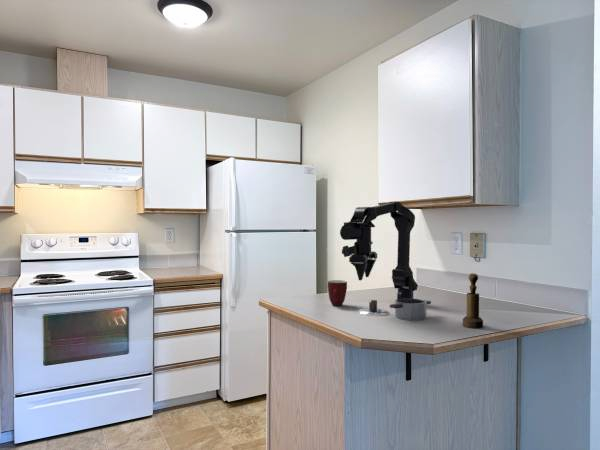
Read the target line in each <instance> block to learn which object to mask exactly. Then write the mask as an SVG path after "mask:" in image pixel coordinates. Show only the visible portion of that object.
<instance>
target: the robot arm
mask: <svg viewBox="0 0 600 450" xmlns="http://www.w3.org/2000/svg"><path fill="white" fill-rule="evenodd" d="M386 214H390V215H389V216H390V217H391V218H392V219H393V222H394V226H395V229H396V230H397V259H396V260H397V262H396V263H397V264H396V266H395V267H394V268H393V269H392V270H391V273H392V274H391V279H392V283H393V287H394V289H397V293H396V298H397V299H402V298H412V299H414V292H416V291H418V288H419V287H418V286H419V285H418V283H417V282H416V280H415V279H414V273H413V270H412V267H410V247H411V231H412V230H413V228H414V227H415V223H416V216H415V214H414V213H413V211H412V210H411V209H410V208H408V207H406V206H405V205H403V204H402V203H401V202H399V201H389V202H386V203H383V204H379V205H375V206H360V207H359V206H357V207H355V209H354V212H353V214H352V216H351V217H350V220H349V221H344V222H343V225H342V226H341V227H340V231H339V235H340V238H341V239H343V240H344V241H350V240H351V241H352V240H356V241H355V242H354V243H353V245H352V246H349V245H344V246H342V249H341V254H342V255H343V257H344V258H346V257H348V259H349V260H348V261H349V263H350V264H351V265H352V266H353V267H354V268H355V270H356V275H357V278H358V279H357V280H358V281H362V280H363V278H364V276H365V278H369V277H370V275H371V273H372V270H373V268H374V265H375V263H376V261H377V259H378V253H377V251H372V245H373V242H374V241H372V228H376V225H375V224H374V223H373V222H372V221H374V220H376V219H377V217H379V216H384V215H386ZM397 299H396V300H397Z"/></svg>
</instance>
